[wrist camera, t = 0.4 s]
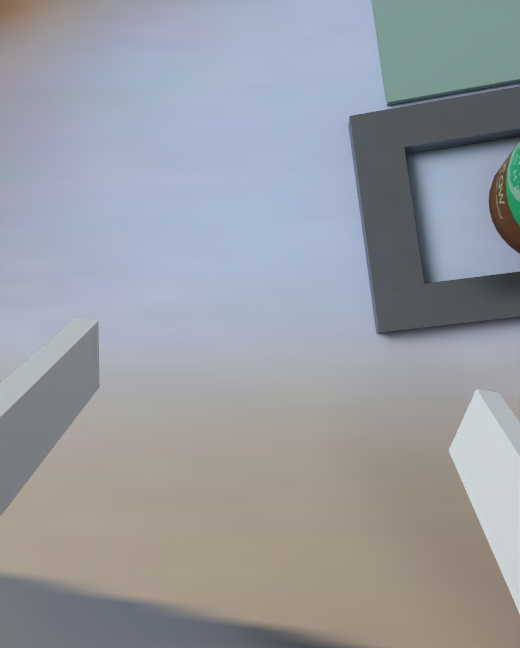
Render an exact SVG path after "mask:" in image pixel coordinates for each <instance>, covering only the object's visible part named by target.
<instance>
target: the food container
mask: <svg viewBox="0 0 520 648" xmlns="http://www.w3.org/2000/svg"><path fill="white" fill-rule="evenodd" d="M489 208H490V214H491V218H492V221H493V223H494V225H495V227H496V230H497V231H498V233H499V234H500V235H501V237H502V238H503V239H504V241H505V242H506V243H507V244H508V245H509V246H510V247H512V248H513V249H514V250H516V251H517V252H518V253H520V142H519V143H518V144H517V146H516V147H515V149H514V150H513V151H512V153H511V154H510V155H509V157H508V158H507V159H506V161H505V162H504V164H503V165H502V166H501V168H500V169H499V171H498V172H497V174H496V175H495V176H494V179H493V183H492V186H491V189H490V194H489Z"/></svg>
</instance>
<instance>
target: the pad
mask: <svg viewBox="0 0 520 648" xmlns="http://www.w3.org/2000/svg"><path fill="white" fill-rule="evenodd" d="M372 5H373V12H374V19H375V26H376V33H377V40H378V47H379V54H380V61H381V68H382V75H383V82H384V89H385V96H386V103H387V105H392V104H398V103H404V102H409V101H415V100H421V99H426V98H432V97H438V96H443V95H449V94H455V93H460V92H466V91H472V90H478V89H483V88H489V87H495V86H500V85H506V84H512V83H517V82H520V0H372Z"/></svg>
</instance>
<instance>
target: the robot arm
mask: <svg viewBox="0 0 520 648" xmlns="http://www.w3.org/2000/svg"><path fill="white" fill-rule="evenodd" d="M98 388H99V339H98V321H95V320H89V319H84V318H78V317H76V318H75V319H74V320H73V321H72V322H70V323H69V324H68V325H67V326H66V327H65V328H64V329H62V330H61V331H60V332H59V333H58V334H57V335H56V336H54V337H53V338H52V339H51V340H50V341H49V342H48V343H46V344H45V345H44V346H43V347H42V348H41V349H39V350H38V351H37V352H36V353H35V354H34V355H33V356H31V357H30V358H29V359H28V360H27V361H26V362H25V363H23V364H22V365H21V366H20V367H19V368H18V369H17V370H15V371H14V372H13V373H12V374H11V375H10V376H8V377H7V378H6V379H5V380H4V381H3V382H2V383H0V516H1V515H2V514H3V512H4V511H5V510H6V508H7V507H8V506H9V504H10V503H11V502H12V500H13V499H14V498H15V497H16V495H17V494H18V493H19V491H20V490H21V489H22V487H23V486H24V485H25V483H26V482H27V481H28V480H29V478H30V477H31V476H32V474H33V473H34V472H35V470H36V469H37V468H38V466H39V465H40V464H41V463H42V461H43V460H44V459H45V457H46V456H47V455H48V453H49V452H50V451H51V449H52V448H53V447H54V446H55V444H56V443H57V442H58V440H59V439H60V438H61V436H62V435H63V434H64V432H65V431H66V430H67V429H68V427H69V426H70V425H71V423H72V422H73V421H74V419H75V418H76V417H77V415H78V414H79V413H80V412H81V410H82V409H83V408H84V406H85V405H86V404H87V402H88V401H89V400H90V398H91V397H92V396H93V395H94V393H95V392H96V391H97V389H98ZM449 452H450V455H451V457H452V459H453V462H454V464H455V466H456V468H457V471H458V473H459V475H460V478H461V480H462V482H463V485H464V487H465V489H466V491H467V494H468V496H469V498H470V501H471V503H472V505H473V508H474V510H475V512H476V515H477V517H478V519H479V521H480V524H481V526H482V528H483V531H484V533H485V535H486V538H487V540H488V542H489V544H490V547H491V549H492V551H493V554H494V556H495V558H496V561H497V563H498V565H499V567H500V570H501V572H502V574H503V577H504V579H505V581H506V584H507V586H508V588H509V591H510V593H511V595H512V597H513V600H514V602H515V604H516V607H517V609H518V611H519V614H520V422H519V421H518V419H517V418H516V416H515V415H514V413H513V412H512V411H511V409H510V408H509V406H508V405H507V404H506V402H505V401H504V399H503V398H502V397H501V395H500V394H499V393H496V392H491V391H485V390H480V389H476V391H475V393H474V396H473V398H472V400H471V402H470V404H469V407H468V409H467V411H466V413H465V416H464V418H463V420H462V422H461V424H460V427H459V429H458V431H457V433H456V435H455V438H454V440H453V442H452V444H451V446H450V449H449Z"/></svg>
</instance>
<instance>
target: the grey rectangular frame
mask: <svg viewBox="0 0 520 648" xmlns="http://www.w3.org/2000/svg"><path fill="white" fill-rule="evenodd" d="M349 132H350V140H351V147H352V155H353V162H354V169H355V177H356V184H357V192H358V199H359V207H360V214H361V221H362V229H363V236H364V244H365V251H366V259H367V266H368V273H369V281H370V288H371V296H372V303H373V310H374V318H375V325H376V333H383V332H392V331H401V330H409V329H418V328H427V327H436V326H444V325H453V324H462V323H470V322H479V321H488V320H496V319H505V318H514V317H520V272H514V273H506V274H498V275H490V276H482V277H474V278H466V279H458V280H450V281H442V282H435V283H427V284H424V278H423V271H422V264H421V257H420V251H419V244H418V237H417V230H416V223H415V216H414V210H413V203H412V196H411V189H410V182H409V175H408V169H407V162H406V155H405V154H409V153H416V152H422V151H428V150H434V149H440V148H447V147H453V146H459V145H465V144H471V143H478V142H484V141H490V140H496V139H502V138H508V137H515V136H520V87H514V88H508V89H502V90H497V91H491V92H485V93H480V94H474V95H468V96H462V97H457V98H451V99H445V100H439V101H434V102H428V103H422V104H416V105H411V106H405V107H399V108H394V109H388V110H382V111H376V112H371V113H365V114H359V115H353V116H350V118H349Z"/></svg>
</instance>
